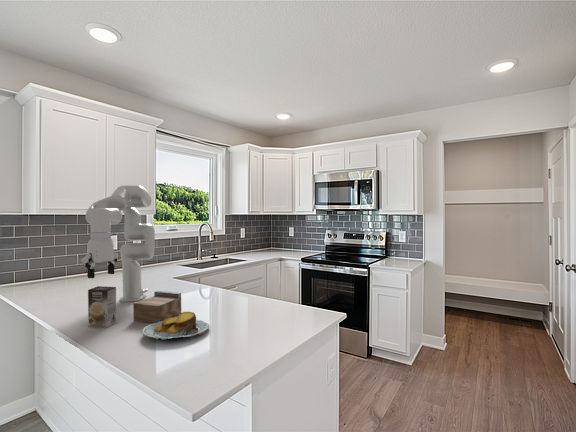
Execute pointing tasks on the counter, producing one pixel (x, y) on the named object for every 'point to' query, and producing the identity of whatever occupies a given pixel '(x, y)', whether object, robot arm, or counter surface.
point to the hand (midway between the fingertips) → (101, 275)
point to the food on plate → (176, 327)
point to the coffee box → (101, 306)
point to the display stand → (157, 307)
